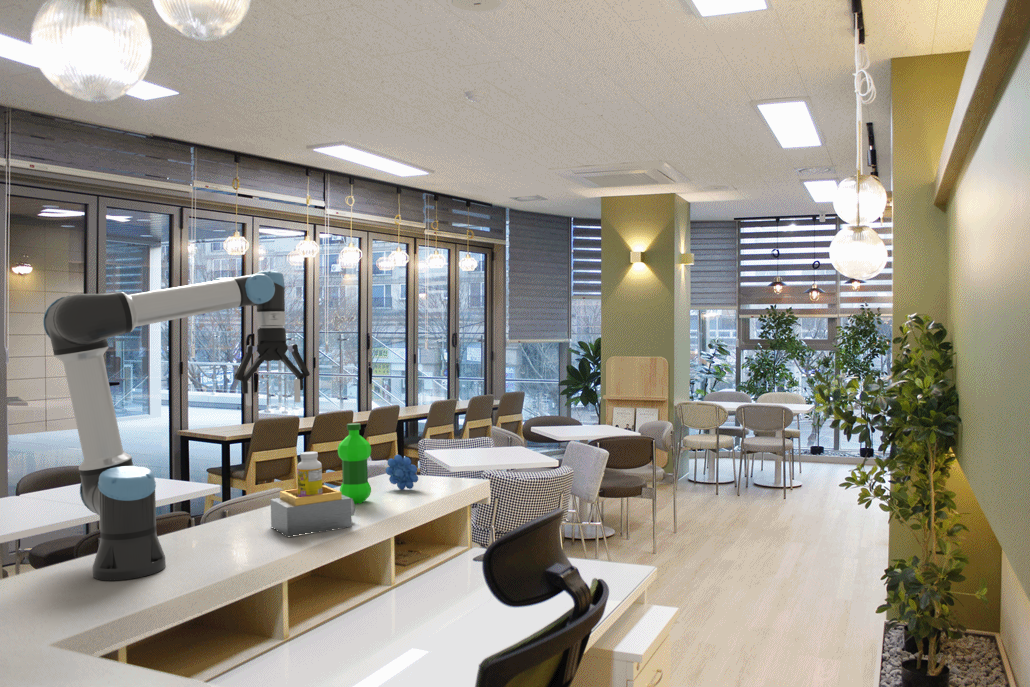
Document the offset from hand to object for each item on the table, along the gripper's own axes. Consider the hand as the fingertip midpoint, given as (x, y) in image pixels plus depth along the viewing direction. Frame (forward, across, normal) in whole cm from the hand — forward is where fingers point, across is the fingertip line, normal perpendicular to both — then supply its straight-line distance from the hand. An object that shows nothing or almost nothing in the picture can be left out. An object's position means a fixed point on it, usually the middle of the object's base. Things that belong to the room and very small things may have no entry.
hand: (273, 404), depth 220 cm
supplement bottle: (+27, +8, -5) cm, 28 cm away
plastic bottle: (+35, +31, +18) cm, 50 cm away
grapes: (+35, +51, +26) cm, 67 cm away
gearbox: (+35, +10, -5) cm, 36 cm away
